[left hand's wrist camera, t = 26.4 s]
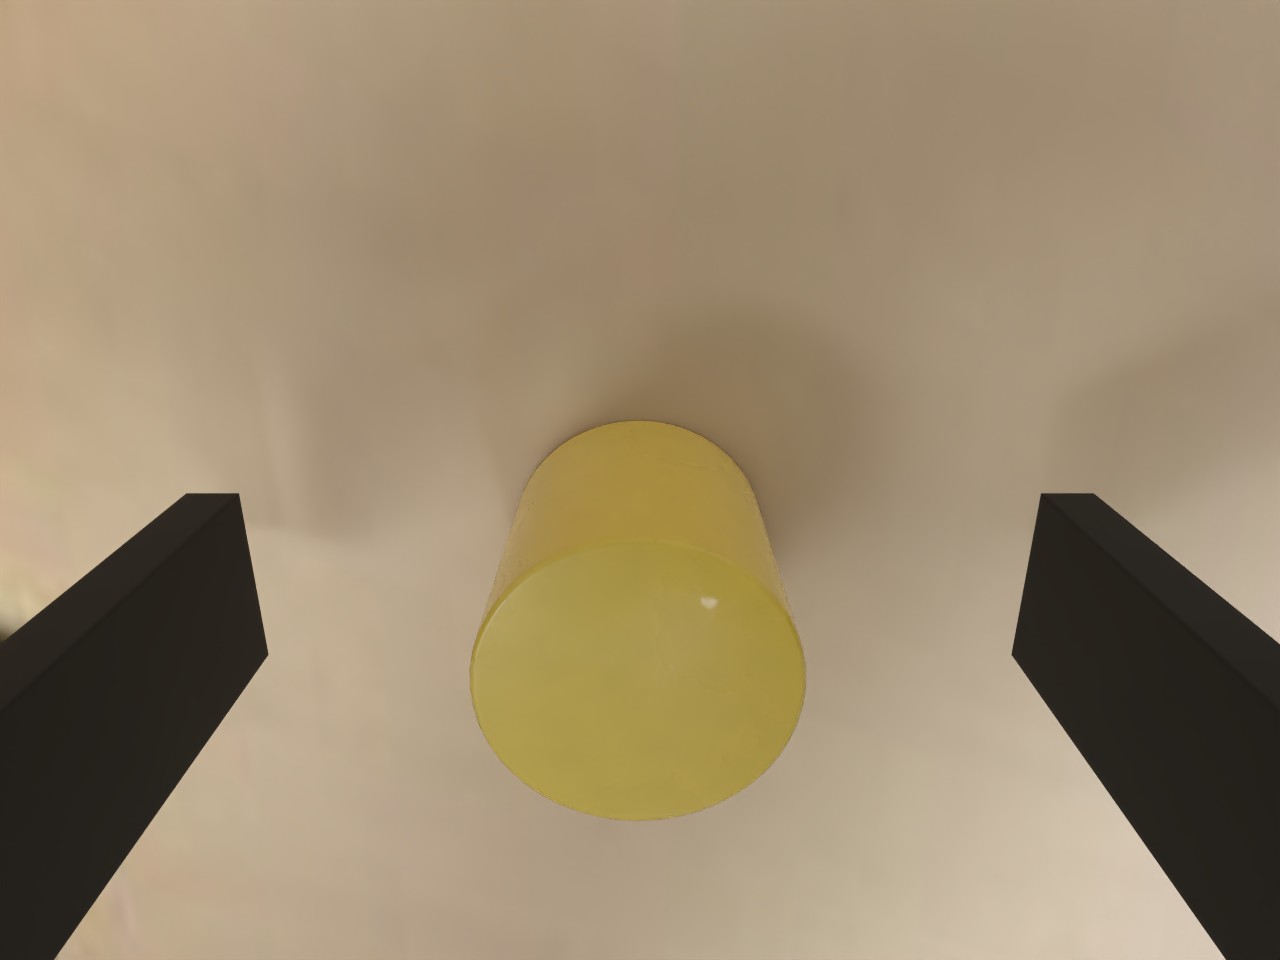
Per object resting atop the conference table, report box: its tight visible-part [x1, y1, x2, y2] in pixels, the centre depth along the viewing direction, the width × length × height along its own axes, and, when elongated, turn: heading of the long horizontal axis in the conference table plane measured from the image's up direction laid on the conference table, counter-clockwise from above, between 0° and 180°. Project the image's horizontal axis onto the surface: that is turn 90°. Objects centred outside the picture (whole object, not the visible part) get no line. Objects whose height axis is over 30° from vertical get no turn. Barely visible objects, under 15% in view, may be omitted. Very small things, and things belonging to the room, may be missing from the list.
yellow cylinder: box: [470, 421, 806, 821], centre depth 13 cm, size 4×4×4 cm
